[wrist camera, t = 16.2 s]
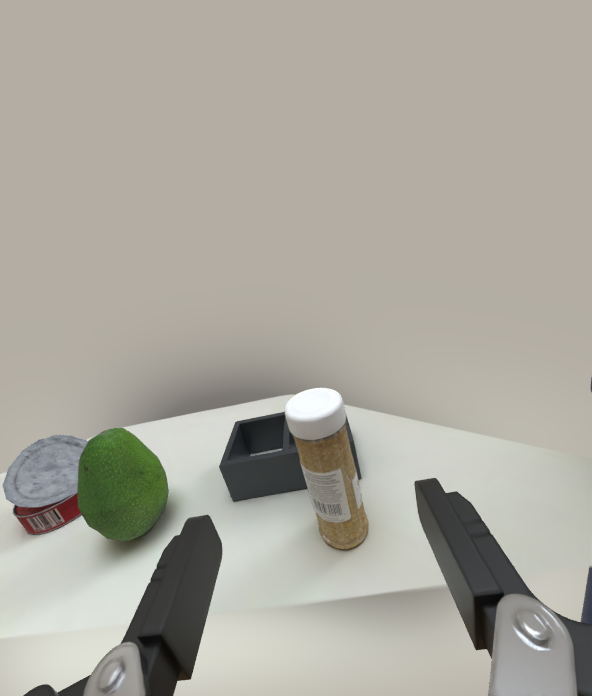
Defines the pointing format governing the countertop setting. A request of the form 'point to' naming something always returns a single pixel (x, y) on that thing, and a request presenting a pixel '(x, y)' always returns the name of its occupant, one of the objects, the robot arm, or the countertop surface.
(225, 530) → the countertop surface
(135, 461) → the avocado
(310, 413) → the sprinkles bottle
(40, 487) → the canned food
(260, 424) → the divided storage box
